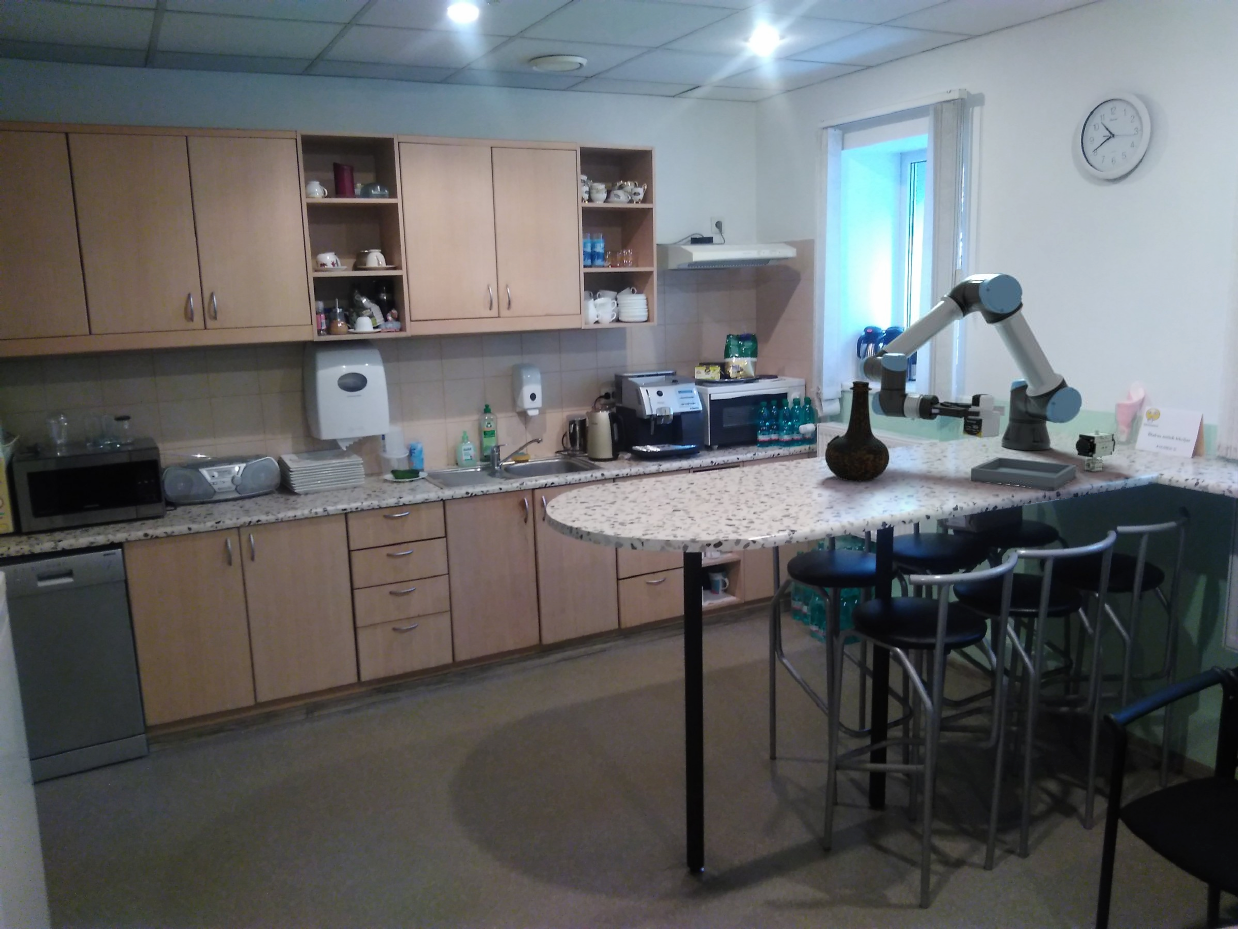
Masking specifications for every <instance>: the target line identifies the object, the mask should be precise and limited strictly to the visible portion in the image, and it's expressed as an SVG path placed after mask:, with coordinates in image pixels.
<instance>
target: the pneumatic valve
mask: <svg viewBox="0 0 1238 929" xmlns="http://www.w3.org/2000/svg"><path fill="white" fill-rule="evenodd" d="M1114 436H1115V435H1114V433H1109V432H1104V431H1099V430H1098V429H1097V430H1094V432H1089V433H1079V434H1078V439H1077V441H1076V443H1075V449H1076V451H1077V456H1082V457H1086V458H1085V460H1084V462H1085V463H1084V471H1089V472H1093V471H1094V472H1093V473H1096V472H1095V471H1097V472H1102V471H1103V468H1102V467H1103V465H1104V463H1103V462H1104V459H1101V458H1103V457H1104V456H1111V455H1112V454H1113V453H1114V452H1115V448H1116V447H1115V446H1116V440H1115V437H1114ZM1097 458H1098V459H1097ZM1099 458H1100V459H1099Z"/></svg>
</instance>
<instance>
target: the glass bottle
mask: <svg viewBox="0 0 1238 929" xmlns="http://www.w3.org/2000/svg"><path fill="white" fill-rule="evenodd" d="M869 385H870V382H868V381H863V380H862V381H861V380H854V381H852V386H851V387H849V390H851V391H852V396H851V398H852V399H851V406H850V407H851V408H850V409H851V410H850V413H849V414H850V415H849V421H848V426H847V429H846V432H845V433H844V434H843V435H842V436H840V435H839V434H837V435H836V436H834V437H833V438H832V439H831V440H830V441H829V442H827V444H826V448H825V452H824V459H825V462H826V465H827V468H828V469H829V471H831V473H832V474H833V475H834V476H836V477H838V478H839V479H841V480H843V481H848V482H868V481H873V480H875V479H876V478H879V476H881V475H882V474H883V473H884V472H885V470H886V469H887V467H888V465H889V462H890V452H889V449H888V447H887V446H886V444H885V443H884V442H883V441H882V440H880V439H879V438H877V437H876V436H875V435H874V433H873V431H872V426H871V418H870V403H869V402H870V400H869V399H870V398H869V397H870V396H869V391H872V390H873V388H871V387H870V386H869Z"/></svg>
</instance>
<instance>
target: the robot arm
mask: <svg viewBox="0 0 1238 929" xmlns="http://www.w3.org/2000/svg"><path fill="white" fill-rule="evenodd" d="M1022 296H1023V288H1022V284H1020V282H1019V281H1018V280H1017V278H1015V277H1014V276H1012V275H1009V274H1006V273H1000V272H998V273H997V272H996V273H991V274H990V273H988V274H986V273H985V274H984V273H983V274H982V273H978V274H973V275H971V276H970V275H969V276H968V277H966V278H965V279H962V280H961V281H960V282H959V283H957V284H956V285H954V286H953V287H952V288H950V290H948V291H947V292H946V293H945V294H943V295H941V297H940V301H939V303H936V305H935V306H934V307H932V308H931V309H930V310H928V311H927V312H926V313H925V314H923V315H922V317H920V318H918V319H917V320H916V321H914V323H913V324H911V325H909V327H908V328H907V329H905V330H904V331H903V332H901V333H900V334H899V335H898V336H897V337H896V338H894V339H893V340H892V341H890V342H889V343H888V344H887V345H886V346H884V347H883V348H882V349H880V350H879V351H878V352H876V353H875V354H874V355H868V356H866V357H864V358H863V359H862V360H861V362H860V364H859V372H860V375H862V377H863V378H865V379H867V380H870V381H875V382H880V390H879V391H876V392H874V394H873V395H872V400H871V404H870V406H871V410H872V412H873V413H874V414H875V415H877V416H885V417H887V418H888V417H889V418H890V417H891V418H892V417H893V418H907V419H911V421H915V419H917V420H918V419H919V420H920V419H922V420H925V421H926V420H927V421H935V420H936V419H937V418H938V417H939V416H941V417H948V418H949V417H950V418H957V419H963V421H964V420H967V419H968V418H978V419H989V420H992V416H993V411H998V412H1000V417H1001V416H1002V417H1003V416H1005V413H1006V411H1005V410H1006V406H1005V405H995V404H994V409H993V410H987V409H974V408H971V407H972V402H971V403H970V402H956V401H955V402H953V401H946V400H945V401H943V402H942V401H940V399H939V397H938V396H937V395H935V394H922V393H911V392H910V393H907V392H906V391H907V390H906V388H907V387H906V386H907V373H908V358H910V357H911V356H912V355H914V354H915V353H916V352H918V350H920V349H921V348H922V347H923V346H925V345H926V344H927V343H928V342H930V341H931V340H932V339H934V338H935V337H936V336H937V335H938V334H940V333H941V332H942V331H944V330H945V329H947V327H948V326H949V325H951V324H952V323H953V322H954V321H961V320H963V318H965V317H967V316H968V315H969V314H972V313H975V312H979V313H981V316H982V317H983V319H984V321H985V323H986V324H987V325H991V326H994V328H995V329H996V331H997V333H998V334H999V336H1000V338H1001V340H1002V342H1003V343H1004V345H1005V347H1006V349H1007V351H1008V353H1009V355H1010V356H1011V358H1012V359H1013V361H1014V363H1015V365H1016V367H1017V368H1018V370H1019V372H1020V373H1021V375H1022V379H1014V380H1013V381H1012V382H1011V385H1010V390H1009V393H1010V397H1009V412H1008V424H1007V426H1006V428H1005V430H1004V433H1003V434H1002V435H1003V436H1002V438H1001V446H1002V447H1003V448H1007V449H1011V450H1012V449H1013V450H1020V451H1021V450H1022V451H1044V450H1049V449H1051V438H1050V434H1049V430H1048V428H1047V427H1048V426H1047V422H1050V423H1053V424H1065V423H1069V422H1071V421H1072V420H1074V419H1075V418H1076V417H1077V416H1078V414H1079V413H1080V411H1081V407H1082V403H1083V398H1082V395H1081V393H1080V392H1079V390H1078V389H1075V388H1074V387H1072V386H1069V385H1068V383H1067V382H1066V380H1065V378H1064V375H1062V374H1061V373H1057V372H1055V370H1054V369H1053V366H1052V365H1051V364H1050V362H1049V360H1048V358H1047V357H1046V355H1045V353H1044V351H1043V349H1042V347H1041V346H1040V344H1039V342H1038V340H1037V338H1036V336H1035V334H1034V333H1033V331H1032V329H1031V327H1030V326H1029V324H1028V322H1027V320H1026V318H1025V316H1024V314H1023V312H1022V309H1023V308H1024V303H1023V301H1022V300H1023V298H1022ZM968 410H969V411H968ZM968 416H969V417H968Z"/></svg>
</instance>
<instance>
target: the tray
mask: <svg viewBox="0 0 1238 929" xmlns="http://www.w3.org/2000/svg"><path fill="white" fill-rule="evenodd" d="M970 469H971V470H970V482H977V481H981V482H980V483H985V482H990V483H989V484H993V483H1001V484H1010V485H1019V486H1025V487H1031V488H1030V489H1034V488H1036V489H1035V490H1043V491H1053V492H1055V491H1057V490H1058V489H1059V487H1060V488H1062V485H1063V484H1064V485H1066V484H1068V483H1069V482H1070V480H1071V481H1072V480H1073V478H1074V479H1076V477H1077V465H1075V464H1068V463H1067V464H1066V463H1059V462H1047V461H1040V460H1039V461H1037V460H1029V459H1022V458H1021V459H1019V458H1011V457H1004V456H1003V457H1001V456H996V457H994V458H991V459H988V460H987V461H985V462H983V463H979V464H978V465H976V466H974V467H971V468H970ZM1068 481H1069V482H1068ZM1065 483H1066V484H1065ZM1001 484H1000V485H1001ZM1064 485H1063V486H1064ZM1025 487H1024V488H1025Z"/></svg>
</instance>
